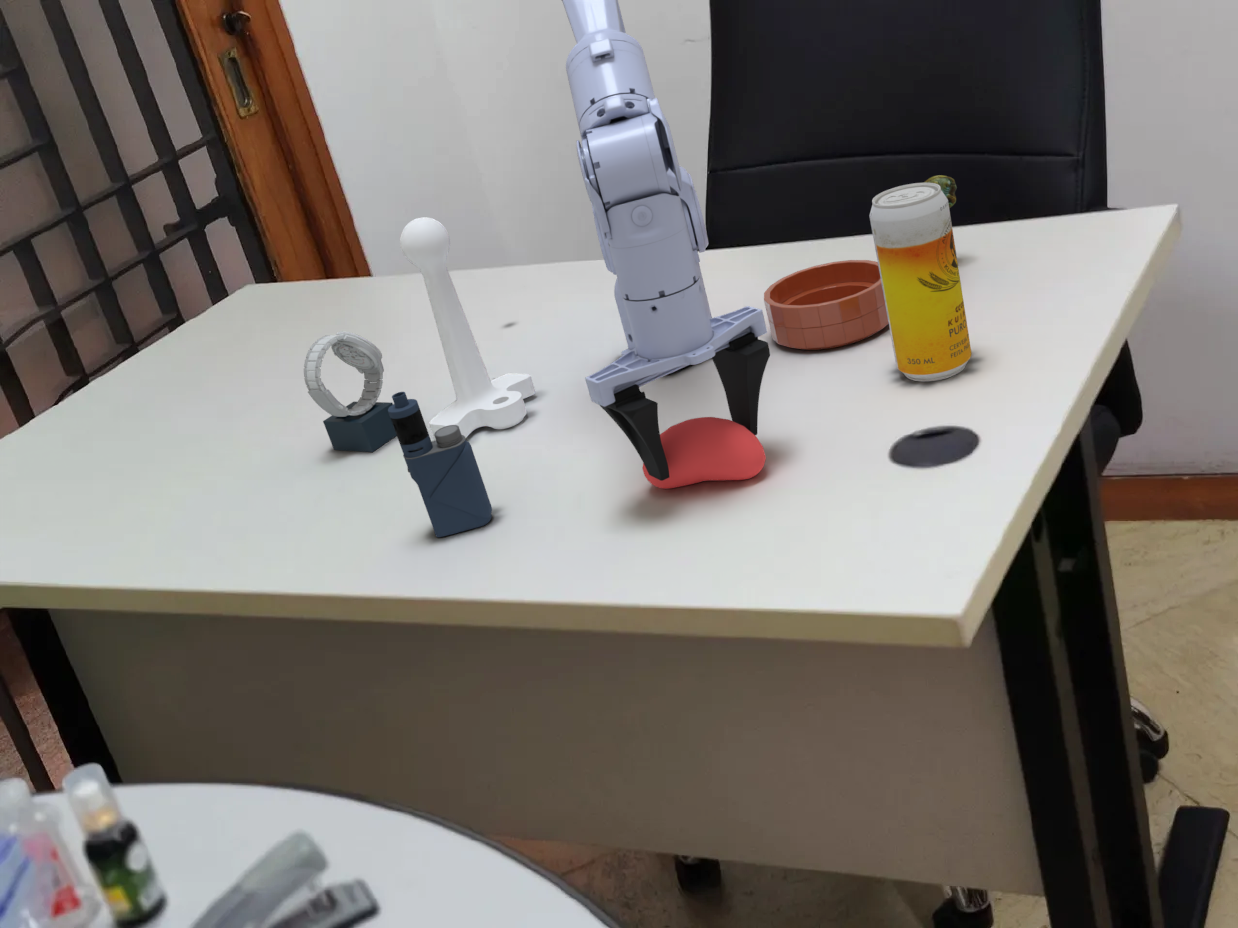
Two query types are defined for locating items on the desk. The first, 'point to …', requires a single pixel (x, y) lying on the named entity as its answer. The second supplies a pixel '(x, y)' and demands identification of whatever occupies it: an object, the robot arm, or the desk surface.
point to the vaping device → (441, 470)
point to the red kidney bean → (708, 452)
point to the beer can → (920, 281)
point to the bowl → (827, 305)
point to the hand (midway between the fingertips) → (703, 454)
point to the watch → (359, 420)
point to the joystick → (461, 342)
